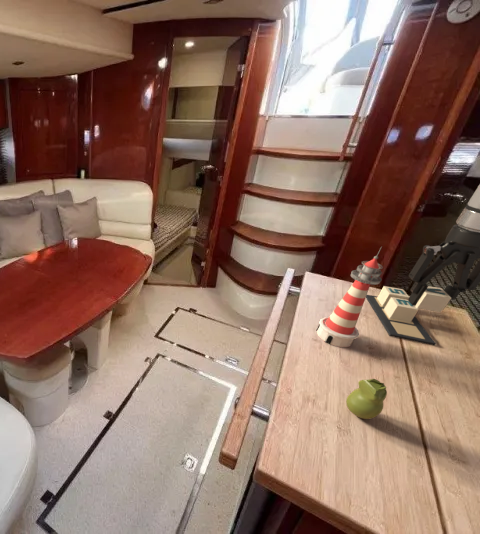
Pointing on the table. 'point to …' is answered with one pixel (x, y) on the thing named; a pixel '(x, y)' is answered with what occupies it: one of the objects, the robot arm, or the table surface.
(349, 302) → the miniature lighthouse
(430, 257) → the robot arm
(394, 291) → the letter S
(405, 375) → the table surface
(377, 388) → the green rounded piece
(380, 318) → the word mat
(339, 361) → the table surface
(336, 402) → the table surface
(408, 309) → the letter E
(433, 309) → the cream letter cube
